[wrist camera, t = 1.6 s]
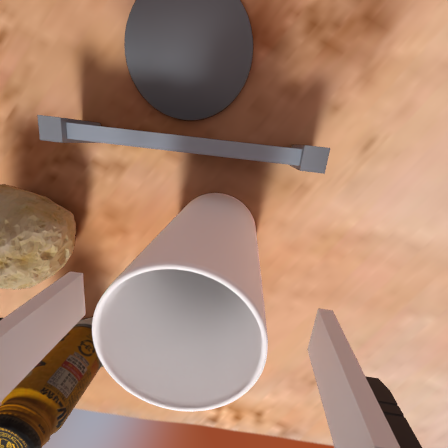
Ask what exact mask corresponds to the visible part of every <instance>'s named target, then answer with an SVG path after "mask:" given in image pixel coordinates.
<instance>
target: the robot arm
mask: <svg viewBox="0 0 448 448" xmlns="http://www.w3.org/2000/svg"><path fill="white" fill-rule="evenodd" d="M85 314H86V312H85V296H84V281H83V273H78V272H71V271H70V272H68V273H67V274H66V275H64V276H63V277H61V278H60V279H58V280H57V281H56V282H54V283H53V284H51V285H50V286H49V287H47V288H46V289H44V290H43V291H42V292H40V293H39V294H37V295H36V296H34V297H33V298H32V299H30V300H29V301H27V302H26V303H25V304H23V305H22V306H20V307H19V308H17V309H16V310H15V311H13V312H12V313H10V314H9V315H8V316H6V317H5V318H0V402H1V401H2V400H3V399H4V398H5V397H6V396H7V395H8V394H9V393H10V392H11V391H12V390H13V389H14V388H15V387H16V386H17V385H18V384H19V383H20V382H21V381H22V380H23V379H24V378H25V377H26V376H27V375H28V373H29V372H30V371H31V370H32V369H33V368H34V367H35V366H36V365H37V364H38V363H39V362H40V361H41V360H42V359H43V358H44V357H45V356H46V355H47V354H48V353H49V352H50V351H51V350H52V349H53V348H54V347H55V346H56V345H57V343H58V342H59V341H60V340H61V339H62V338H63V337H64V336H65V335H66V334H67V333H68V332H69V331H70V330H71V329H72V328H73V327H74V326H75V325H76V324H77V323H78V322H79V321H80V320H81V319H82V318H83V317H84V316H85ZM308 353H309V357H310V360H311V364H312V368H313V371H314V375H315V378H316V382H317V386H318V389H319V393H320V396H321V400H322V404H323V407H324V411H325V414H326V418H327V422H328V425H329V429H330V432H331V436H332V440H333V443H334V447H335V448H422V447H421V445H420V443H419V441H418V440H417V438H416V436H415V434H414V433H413V431H412V429H411V427H410V426H409V424H408V422H407V420H406V418H404V416H403V413H402V411H401V410H400V408H399V406H397V403H396V401H395V399H394V397H393V395H392V394H391V392H390V390H389V389H388V388H387V387H386V386H385V385H384V384H383V383H382V382H381V381H380V380H379V379H378V378H372V377H365V375H364V373H363V371H362V369H361V367H360V365H359V363H358V361H357V359H356V357H355V355H354V353H353V351H352V349H351V347H350V345H349V343H348V341H347V339H346V337H345V335H344V333H343V330H342V328H341V326H340V324H339V322H338V320H337V318H336V316H335V314H334V312H333V311H332V310H325V309H319V308H318V311H317V315H316V319H315V322H314V326H313V330H312V334H311V338H310V342H309V346H308Z"/></svg>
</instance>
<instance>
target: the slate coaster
mask: <svg viewBox="0 0 448 448" xmlns="http://www.w3.org/2000/svg"><path fill="white" fill-rule="evenodd" d="M252 55H253V36H252V30H251V25H250V22H249V18H248V15H247V13H246V10H245V8H244V6H243V4H242V3H241V1H240V0H136V2H135V3H134V5H133V7H132V10H131V12H130V14H129V18H128V21H127V25H126V31H125V56H126V62H127V66H128V69H129V72H130V75H131V77H132V80H133V82H134V84H135V85H136V87H137V89H138V90H139V92H140V93H141V95H142V96H143V97H144V98H145V99H146V100H147V101H148V102H149V103H150V104H151V105H152V106H153V107H154V108H156V109H157V110H159V111H160V112H162V113H164V114H166V115H168V116H171V117H174V118H177V119H182V120H200V119H204V118H208V117H210V116H213V115H215V114H217V113H219V112H220V111H222V110H223V109H225V108H226V107H227V106H228V105H229V104H230V103H231V102H232V101H233V100H234V99H235V98H236V97H237V95H238V94H239V93H240V91H241V89H242V88H243V86H244V84H245V82H246V80H247V77H248V74H249V71H250V68H251V62H252Z"/></svg>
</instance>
